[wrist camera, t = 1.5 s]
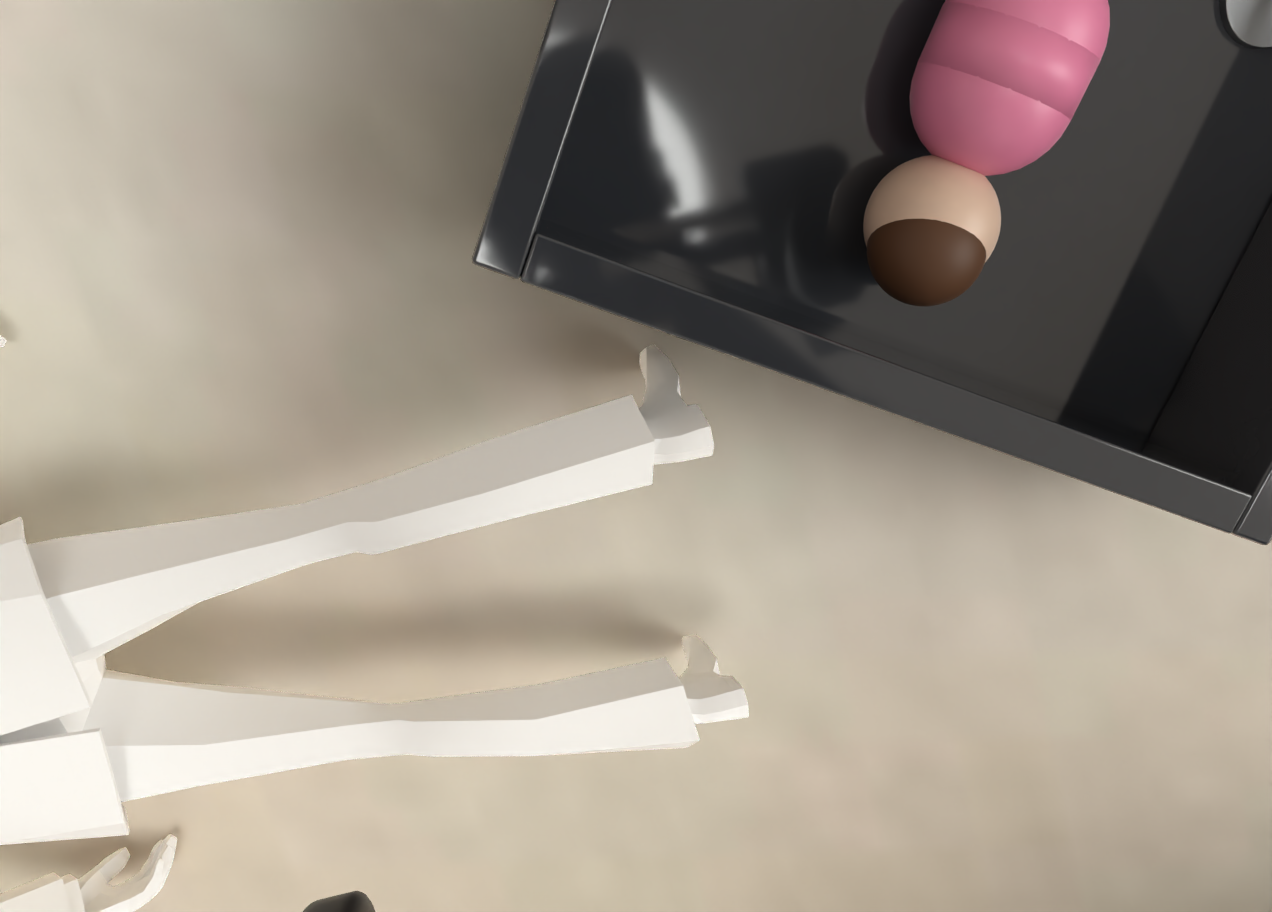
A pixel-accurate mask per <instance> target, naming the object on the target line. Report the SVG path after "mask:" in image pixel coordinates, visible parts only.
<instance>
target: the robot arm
mask: <svg viewBox="0 0 1272 912" xmlns="http://www.w3.org/2000/svg"><path fill="white" fill-rule="evenodd" d="M303 912H375V910H374V907H373V905H372V903H371V901H370V900H369V898H368V897H367V895H366V894H364V893H362V892H359V891H353V892H349V893H345V894H341V895H337V896H333V897H329V898H325V899H320V900H317V901H315V902H313V903H311V904H310V905H309V906H308V907H307V908H306V909H305V910H304V911H303Z"/></svg>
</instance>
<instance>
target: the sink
mask: <svg viewBox="0 0 1272 912" xmlns="http://www.w3.org/2000/svg"><path fill="white" fill-rule="evenodd" d="M944 2H945V0H555V1H554V4H553V8H552V11H551V14H550V17H549V20H548V23H547V26H546V29H545V32H544V36H543V39H542V42H541V45H540V48H539V51H538V54H537V57H536V60H535V64H534V67H533V70H532V73H531V76H530V79H529V82H528V85H527V88H526V91H525V95H524V98H523V101H522V104H521V107H520V110H519V113H518V116H517V119H516V123H515V126H514V129H513V132H512V135H511V138H510V141H509V144H508V147H507V151H506V154H505V157H504V160H503V163H502V166H501V169H500V172H499V175H498V179H497V182H496V185H495V188H494V191H493V194H492V197H491V200H490V203H489V207H488V210H487V213H486V216H485V219H484V222H483V225H482V228H481V231H480V234H479V238H478V241H477V244H476V247H475V250H474V253H473V256H472V263H473V264H475V265H477V266H480V267H482V268H485V269H488V270H491V271H494V272H496V273H499V274H502V275H505V276H508V277H510V278H513V279H519V278H521V281H522V282H524V283H527V284H530V285H532V286H535V287H538V288H541V289H544V290H546V291H549V292H552V293H555V294H558V295H560V296H563V297H566V298H569V299H572V300H574V301H577V302H580V303H583V304H586V305H589V306H591V307H594V308H597V309H600V310H603V311H605V312H608V313H611V314H614V315H617V316H619V317H622V318H625V319H628V320H631V321H633V322H636V323H639V324H642V325H645V326H647V327H650V328H653V329H656V330H659V331H661V332H664V333H667V334H670V335H673V336H676V337H678V338H681V339H684V340H687V341H690V342H692V343H695V344H698V345H701V346H704V347H706V348H709V349H712V350H715V351H718V352H720V353H723V354H726V355H729V356H732V357H734V358H737V359H740V360H743V361H746V362H749V363H751V364H754V365H757V366H760V367H763V368H765V369H768V370H771V371H774V372H777V373H779V374H782V375H785V376H788V377H791V378H793V379H796V380H799V381H802V382H805V383H807V384H810V385H813V386H816V387H819V388H822V389H824V390H827V391H830V392H833V393H836V394H838V395H841V396H844V397H847V398H850V399H852V400H855V401H858V402H861V403H864V404H866V405H869V406H872V407H875V408H878V409H880V410H883V411H886V412H889V413H892V414H894V415H897V416H900V417H903V418H906V419H909V420H911V421H914V422H917V423H920V424H923V425H925V426H928V427H931V428H934V429H937V430H939V431H942V432H945V433H948V434H951V435H953V436H956V437H959V438H962V439H965V440H967V441H970V442H973V443H976V444H979V445H982V446H984V447H987V448H990V449H993V450H996V451H998V452H1001V453H1004V454H1007V455H1010V456H1012V457H1015V458H1018V459H1021V460H1024V461H1026V462H1029V463H1032V464H1035V465H1038V466H1040V467H1043V468H1046V469H1049V470H1052V471H1054V472H1057V473H1060V474H1063V475H1066V476H1069V477H1071V478H1074V479H1077V480H1080V481H1083V482H1085V483H1088V484H1091V485H1094V486H1097V487H1099V488H1102V489H1105V490H1108V491H1111V492H1113V493H1116V494H1119V495H1122V496H1125V497H1127V498H1130V499H1133V500H1136V501H1139V502H1142V503H1144V504H1147V505H1150V506H1153V507H1156V508H1158V509H1161V510H1164V511H1167V512H1170V513H1172V514H1175V515H1178V516H1181V517H1184V518H1186V519H1189V520H1192V521H1195V522H1198V523H1200V524H1203V525H1206V526H1209V527H1212V528H1214V529H1217V530H1220V531H1223V532H1226V533H1231V534H1233V535H1235V536H1238V537H1241V538H1243V539H1246V540H1249V541H1252V542H1255V543H1257V544H1260V545H1268V544H1269V543H1270V541H1271V540H1272V48H1264V49H1253V48H1248V47H1245V46H1243V45H1241V44H1239V43H1238V42H1236V41H1235V40H1234V39H1233V38H1232V37H1231V36H1230V35H1229V34H1228V32H1227V31H1226V29H1225V27H1224V25H1223V22H1222V19H1221V13H1220V0H1108V4H1109V8H1110V29H1109V34H1108V39H1107V45H1106V48H1105V51H1104V53H1103V56H1102V58H1101V61H1100V63H1099V65H1098V67H1097V69H1096V71H1095V73H1094V75H1093V77H1092V79H1091V81H1090V83H1089V85H1088V87H1087V89H1086V91H1085V93H1084V95H1083V97H1082V99H1081V101H1080V103H1079V105H1078V107H1077V109H1076V111H1075V113H1074V115H1073V117H1072V119H1071V121H1070V123H1069V125H1068V126H1067V128H1066V130H1065V131H1064V133H1063V134H1062V136H1061V137H1060V139H1059V140H1058V141H1057V142H1056V143H1055V144H1054V145H1053V146H1052V147H1051V149H1050V150H1049V151H1047V152H1046V153H1045V154H1043V155H1042V156H1041V157H1040V158H1038V159H1037V160H1036V161H1034V162H1032V163H1030V164H1028V165H1026V166H1025V167H1023V168H1021V169H1018V170H1015V171H1012V172H1008V173H1005V174H999V175H991V176H985V177H986V178H987V179H988V181H989V182H990V183H991V185H992V187H993V188H994V190H995V192H996V195H997V198H998V201H999V205H1000V211H1001V227H1000V233H999V237H998V240H997V243H996V245H995V248H994V250H993V252H992V254H991V255H990V257H989V258H988V260H987V261H986V262H985V264H984V266H983V268H982V271H981V272H980V274H979V276H978V278H977V279H976V280H975V282H974V283H973V284H972V285H971V286H970V287H969V288H968V289H967V290H966V291H965V292H964V293H962V294H961V295H959V296H958V297H956V298H955V299H953V300H951V301H948V302H945V303H943V304H939V305H935V306H914V305H909V304H905V303H903V302H900V301H898V300H896V299H894V298H893V297H891V296H890V295H888V294H887V293H886V292H885V291H884V290H883V289H882V288H881V287H880V286H879V285H878V283H877V282H876V281H875V279H874V277H873V275H872V273H871V271H870V268H869V264H868V260H867V247H866V243H865V240H864V233H863V222H864V214H865V210H866V206H867V204H868V201H869V199H870V197H871V195H872V193H873V191H874V189H875V188H876V187H877V185H878V184H879V183H880V181H881V180H882V179H883V178H884V177H885V176H886V175H887V174H888V173H889V172H890V171H892V170H893V169H895V168H896V167H897V166H899V165H901V164H903V163H905V162H907V161H910V160H912V159H915V158H918V157H922V156H929V155H931V154H930V152H929V151H928V150H927V149H926V147H925V146H924V145H923V144H922V142H921V141H920V139H919V137H918V135H917V133H916V130H915V128H914V125H913V121H912V117H911V113H910V98H909V96H910V89H911V82H912V78H913V75H914V72H915V69H916V66H917V62H918V60H919V58H920V56H921V53H922V51H923V49H924V46H925V44H926V42H927V40H928V37H929V35H930V33H931V31H932V28H933V26H934V24H935V21H936V19H937V17H938V15H939V12H940V10H941V8H942V6H943V4H944ZM520 276H521V277H520Z"/></svg>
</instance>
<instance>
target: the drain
mask: <svg viewBox="0 0 1272 912" xmlns="http://www.w3.org/2000/svg"><path fill="white" fill-rule="evenodd" d="M1220 13H1221V19H1222V22H1223V25H1224V27H1225V29H1226V31H1227V32H1228V34H1229V35H1230V36H1231V37H1232V38H1233V39H1234V40H1235V41H1236V42H1238V43H1239V44H1241V45H1243V46H1245V47H1248V48H1253V49H1264V48H1272V0H1220Z"/></svg>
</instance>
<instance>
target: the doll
mask: <svg viewBox="0 0 1272 912" xmlns="http://www.w3.org/2000/svg"><path fill="white" fill-rule="evenodd" d="M1109 29H1110V8H1109V4H1108V0H945V2H944V4H943V6H942V8H941V10H940V12H939V15H938V17H937V19H936V21H935V24H934V26H933V28H932V31H931V33H930V35H929V37H928V40H927V42H926V44H925V46H924V49H923V51H922V53H921V56H920V58H919V60H918V62H917V66H916V69H915V72H914V75H913V78H912V82H911V89H910V96H909V98H910V113H911V117H912V121H913V125H914V128H915V130H916V133H917V135H918V137H919V139H920V141H921V142H922V144H923V145H924V146H925V147H926V149H927V150H928V151H929V152H930V154H931V155H929V156H922V157H918V158H915V159H912V160H910V161H907V162H905V163H903V164H901V165H899V166H897V167H896V168H895V169H893V170H892V171H890V172H889V173H888V174H887V175H886V176H885V177H884V178H883V179H882V180H881V181H880V183H879V184H878V185H877V187H876V188H875V189H874V191H873V193H872V195H871V197H870V199H869V201H868V204H867V206H866V210H865V214H864V222H863V233H864V240H865V243H866V247H867V260H868V264H869V268H870V271H871V273H872V275H873V277H874V279H875V281H876V282H877V283H878V285H879V286H880V287H881V288H882V289H883V290H884V291H885V292H886V293H887V294H888V295H890V296H891V297H893V298H894V299H896V300H898V301H900V302H903V303H905V304H909V305H914V306H935V305H939V304H943V303H945V302H948V301H951V300H953V299H955V298H956V297H958V296H959V295H961V294H962V293H964V292H965V291H966V290H967V289H968V288H969V287H970V286H971V285H972V284H973V283H974V282H975V280H976V279H977V278H978V276H979V274H980V272H981V271H982V268H983V266H984V264H985V262H986V261H987V260H988V258H989V257H990V255H991V254H992V252H993V250H994V248H995V245H996V243H997V240H998V237H999V233H1000V227H1001V211H1000V205H999V201H998V198H997V195H996V192H995V190H994V188H993V187H992V185H991V183H990V182H989V181H988V179H987V178H986V177H985V176H991V175H999V174H1005V173H1008V172H1012V171H1015V170H1018V169H1021V168H1023V167H1025V166H1026V165H1028V164H1030V163H1032V162H1034V161H1036V160H1037V159H1038V158H1040V157H1041V156H1042V155H1043V154H1045V153H1046V152H1047V151H1049V150H1050V149H1051V147H1052V146H1053V145H1054V144H1055V143H1056V142H1057V141H1058V140H1059V139H1060V137H1061V136H1062V134H1063V133H1064V131H1065V130H1066V128H1067V126H1068V125H1069V123H1070V121H1071V119H1072V117H1073V115H1074V113H1075V111H1076V109H1077V107H1078V105H1079V103H1080V101H1081V99H1082V97H1083V95H1084V93H1085V91H1086V89H1087V87H1088V85H1089V83H1090V81H1091V79H1092V77H1093V75H1094V73H1095V71H1096V69H1097V67H1098V65H1099V63H1100V61H1101V58H1102V56H1103V53H1104V51H1105V48H1106V45H1107V39H1108V34H1109Z"/></svg>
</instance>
